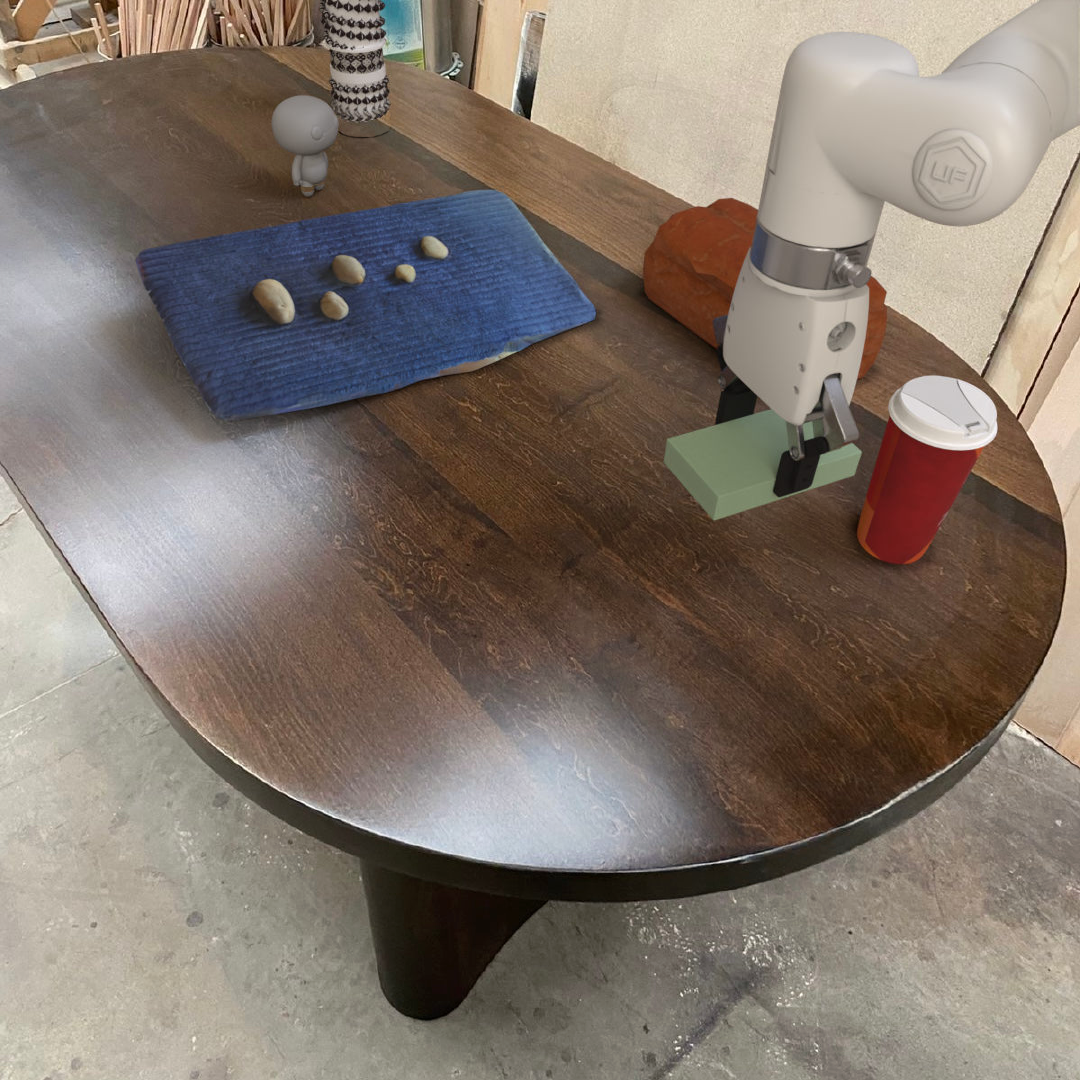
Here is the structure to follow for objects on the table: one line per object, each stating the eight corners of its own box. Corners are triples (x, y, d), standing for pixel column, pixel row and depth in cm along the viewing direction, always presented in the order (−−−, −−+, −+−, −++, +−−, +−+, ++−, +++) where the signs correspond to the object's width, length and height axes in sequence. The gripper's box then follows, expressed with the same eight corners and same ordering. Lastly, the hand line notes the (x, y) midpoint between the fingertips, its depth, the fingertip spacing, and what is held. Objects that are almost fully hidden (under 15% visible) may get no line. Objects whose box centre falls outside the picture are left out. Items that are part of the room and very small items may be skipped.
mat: (473, 235, 126) (491, 160, 117) (587, 384, 116) (616, 314, 107) (124, 311, 105) (113, 227, 95) (228, 502, 95) (226, 428, 86)
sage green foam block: (798, 422, 80) (804, 399, 78) (854, 475, 75) (862, 451, 73) (663, 462, 76) (666, 438, 74) (713, 521, 71) (718, 497, 69)
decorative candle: (330, 139, 140) (306, -57, 123) (333, 114, 147) (312, -76, 129) (393, 139, 141) (379, -56, 124) (394, 114, 148) (381, -74, 130)
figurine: (320, 211, 124) (308, 117, 116) (272, 198, 126) (256, 104, 118) (355, 187, 129) (345, 95, 121) (308, 175, 132) (296, 84, 123)
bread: (725, 260, 119) (741, 176, 112) (890, 367, 104) (921, 278, 96) (626, 293, 113) (635, 206, 105) (785, 412, 97) (810, 321, 90)
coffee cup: (959, 560, 83) (1027, 422, 72) (880, 584, 81) (939, 445, 70) (899, 498, 88) (955, 361, 78) (824, 519, 86) (871, 380, 75)
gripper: (947, 300, 58) (871, 515, 70) (779, 185, 69) (739, 387, 82) (847, 326, 56) (786, 544, 68) (690, 202, 67) (662, 408, 79)
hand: (761, 457), depth 75 cm, fingers closed on sage green foam block, 7 cm apart
